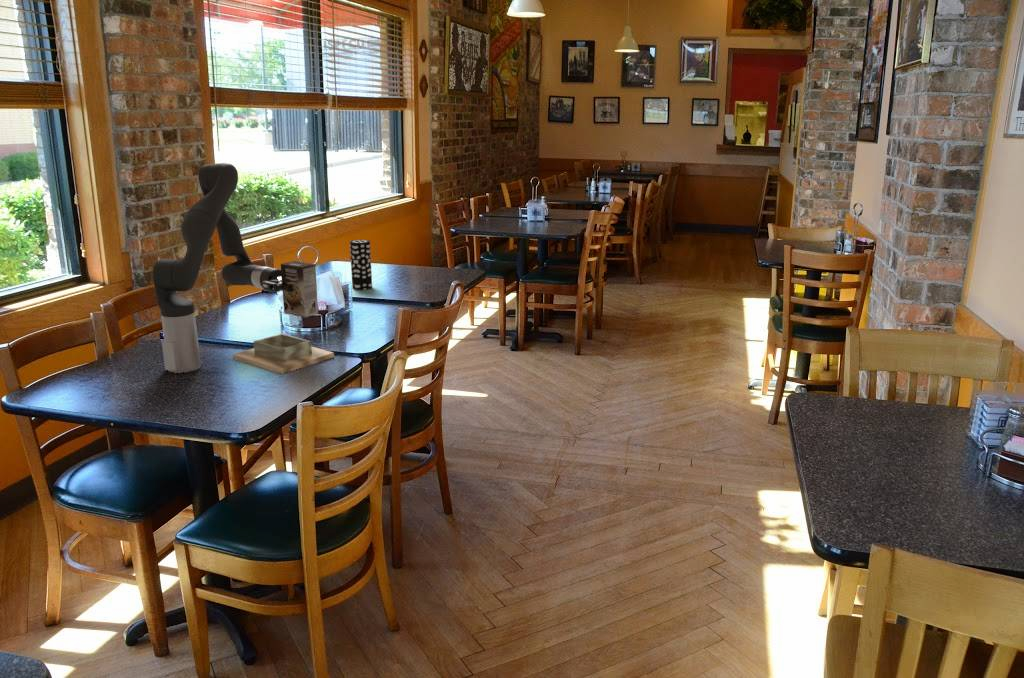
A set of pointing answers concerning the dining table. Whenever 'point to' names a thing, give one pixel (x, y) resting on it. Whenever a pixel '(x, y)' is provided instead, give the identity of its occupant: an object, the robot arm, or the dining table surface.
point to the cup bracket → (283, 353)
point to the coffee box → (300, 288)
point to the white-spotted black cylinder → (361, 264)
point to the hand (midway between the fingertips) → (301, 286)
